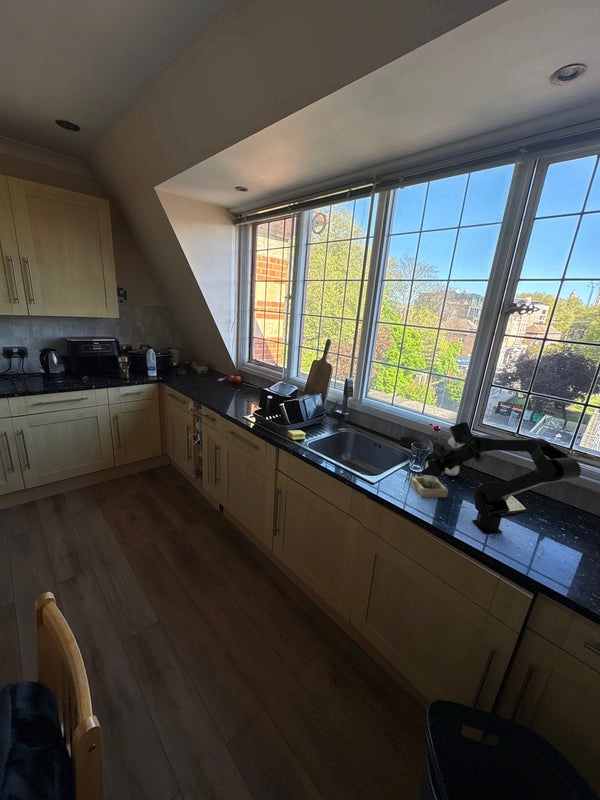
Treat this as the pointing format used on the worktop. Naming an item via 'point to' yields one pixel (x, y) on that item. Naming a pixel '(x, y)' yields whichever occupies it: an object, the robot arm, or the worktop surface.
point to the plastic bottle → (456, 469)
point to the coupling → (429, 481)
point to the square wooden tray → (437, 492)
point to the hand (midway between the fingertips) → (427, 470)
